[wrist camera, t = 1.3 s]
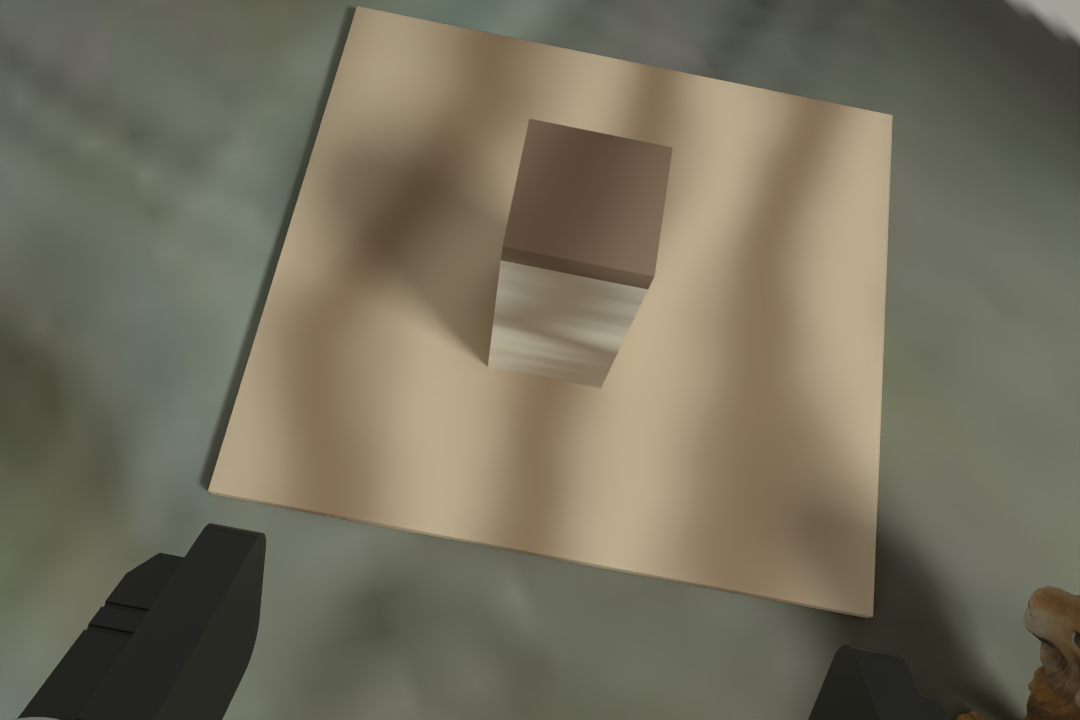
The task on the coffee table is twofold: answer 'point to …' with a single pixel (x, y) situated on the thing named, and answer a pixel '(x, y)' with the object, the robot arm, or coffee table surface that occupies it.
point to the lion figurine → (1052, 656)
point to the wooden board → (645, 355)
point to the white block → (577, 251)
